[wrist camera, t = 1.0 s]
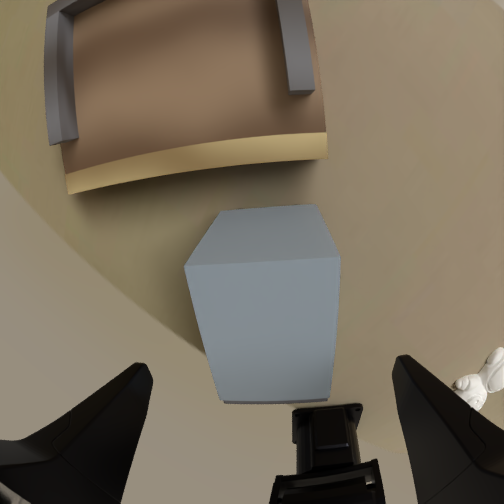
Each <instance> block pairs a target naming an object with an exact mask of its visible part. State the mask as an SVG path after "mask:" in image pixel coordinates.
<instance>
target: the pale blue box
mask: <svg viewBox="0 0 504 504" xmlns="http://www.w3.org/2000/svg"><path fill="white" fill-rule="evenodd" d="M340 260H341V257H340V254H339V252H338V250H337V248H336V245H335V243H334V241H333V239H332V237H331V235H330V232H329V230H328V228H327V226H326V224H325V222H324V220H323V218H322V215H321V213H320V211H319V209H318V207H317V205H316V204H307V205H291V206H276V207H263V208H250V209H236V210H227V211H220V213H219V214H218V216H217V217H216V219H215V220H214V222H213V223H212V224H211V226H210V227H209V229H208V230H207V232H206V233H205V235H204V236H203V238H202V239H201V241H200V242H199V244H198V245H197V247H196V248H195V250H194V251H193V253H192V254H191V256H190V257H189V259H188V260H187V262H186V264H185V265H184V269H185V273H186V278H187V282H188V286H189V291H190V295H191V299H192V303H193V307H194V311H195V315H196V319H197V322H198V326H199V330H200V334H201V337H202V341H203V345H204V348H205V352H206V355H207V359H208V362H209V366H210V369H211V373H212V376H213V379H214V383H215V386H216V389H217V392H218V396H219V398H220V400H223V401H224V403H226V404H290V403H308V402H322V401H327V400H328V398H329V397H330V390H331V382H332V374H333V365H334V356H335V345H336V334H337V321H338V306H339V288H340Z"/></svg>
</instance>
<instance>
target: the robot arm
mask: <svg viewBox="0 0 504 504" xmlns="http://www.w3.org/2000/svg"><path fill="white" fill-rule="evenodd" d="M392 380H393V385H394V391H395V397H396V404H397V410H398V415H399V419H400V423H401V427H402V431H403V435H404V439H405V443H406V447H407V451H408V455H409V460H410V464H411V469H412V474H413V478H414V484H415V489H416V494H417V500H418V504H504V430H502V429H501V428H499V427H498V426H496V425H495V424H493V423H492V422H491V421H489V420H488V419H486V418H485V417H484V416H483V415H481V414H480V413H479V412H478V411H476V410H475V409H474V408H473V407H471V406H470V405H469V404H468V403H467V402H466V401H464V400H463V399H462V398H461V397H460V396H458V395H457V394H456V393H455V392H454V391H452V390H451V389H450V388H449V387H448V386H446V385H445V384H444V383H443V382H441V381H440V380H439V379H438V378H437V377H435V376H434V375H433V374H432V373H431V372H429V371H428V370H427V369H426V368H424V367H423V366H422V365H421V364H419V363H418V362H417V361H416V360H415V359H413V358H412V357H411V356H410V355H407V354H406V355H400V356H398V357H397V358H396V361H395V364H394V368H393V371H392ZM152 386H153V378H152V375H151V373H150V371H149V369H148V367H147V365H146V364H145V363H138V362H137V363H134V364H132V365H131V366H130V367H128V368H127V369H126V370H124V371H123V372H122V373H120V374H119V375H118V376H116V377H115V378H114V379H112V380H111V381H110V382H108V383H107V384H106V385H104V386H103V387H101V388H100V389H99V390H97V391H96V392H95V393H93V394H92V395H91V396H89V397H88V398H87V399H85V400H84V401H82V402H81V403H80V404H78V405H77V406H75V407H74V408H73V409H71V410H70V411H69V412H67V413H66V414H64V415H63V416H61V417H60V418H58V419H57V420H55V421H54V422H52V423H51V424H49V425H47V426H46V427H44V428H42V429H40V430H39V431H37V432H35V433H33V434H31V435H30V436H28V437H26V438H24V439H21V440H16V441H9V440H0V504H121V503H120V502H121V500H122V496H123V492H124V489H125V485H126V481H127V478H128V475H129V471H130V468H131V464H132V461H133V457H134V454H135V451H136V448H137V444H138V441H139V438H140V435H141V431H142V428H143V425H144V422H145V419H146V415H147V411H148V405H149V400H150V395H151V391H152ZM362 411H363V406H362V404H360V403H359V404H350V405H342V406H332V407H321V408H308V409H295V410H293V412H292V442H293V443H294V444H297V474H296V475H286V476H283V475H277V476H276V479H275V482H274V483H273V488H272V492H271V497H270V502H269V504H386V502H385V495H384V489H383V484H382V479H381V474H380V470H379V465H378V460H377V459H373V460H371V461H369V462H365V463H361V459H360V452H359V445H358V439H357V433H356V430H357V427H358V423H359V420H360V417H361V414H362ZM370 481H372V483H371V484H367V485H366V482H370Z"/></svg>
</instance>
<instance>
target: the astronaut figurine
mask: <svg viewBox="0 0 504 504" xmlns="http://www.w3.org/2000/svg"><path fill="white" fill-rule="evenodd" d="M455 385H456V387H457V388H458V389H457V390H455V391H454V392H455V393H456V394H457V395H458V396H460V397H461V398H462V399H463V400H464V401H466V402H467V403H468V404H469V405H470V406H471V407H473V408H474V409H475V410H476V411H478V410H480V409H481V407H482V406H483V403H484V402H485V401H486V397H487V392H489V393H493V392H496V391H499V390H501V389H502V388H504V348H502V347H499V348H497V349H496V350H495V351H494V352H493V353H492V354H491V355H490V356H489V357H488V359H487V363H486V364H485V365H484V366H483V368H482V369H481V371H480V372H479V373H478V374H472V375H467V376H464V377H462V378H460V379H458V380H456V382H455Z"/></svg>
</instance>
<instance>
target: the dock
mask: <svg viewBox="0 0 504 504" xmlns="http://www.w3.org/2000/svg"><path fill="white" fill-rule="evenodd" d="M44 90H45V107H46V119H47V129H48V137H49V145H56V144H61V150H62V156H63V162H64V168H65V174H66V175H65V179H66V184H67V189H68V194H69V195H70V194H74V193H78V192H82V191H86V190H91V189H95V188H99V187H104V186H109V185H113V184H118V183H123V182H128V181H133V180H139V179H144V178H150V177H155V176H161V175H167V174H174V173H180V172H187V171H194V170H201V169H209V168H217V167H225V166H234V165H244V164H254V163H265V162H278V161H292V160H310V159H328V146H327V133H326V126H325V115H324V105H323V95H322V87H321V78H320V71H319V63H318V56H317V49H316V43H315V37H314V31H313V25H312V19H311V14H310V9H309V4H308V0H57V1H55V2H54V3H52V4H51V5H49V6H48V9H47V18H46V30H45V46H44Z"/></svg>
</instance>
